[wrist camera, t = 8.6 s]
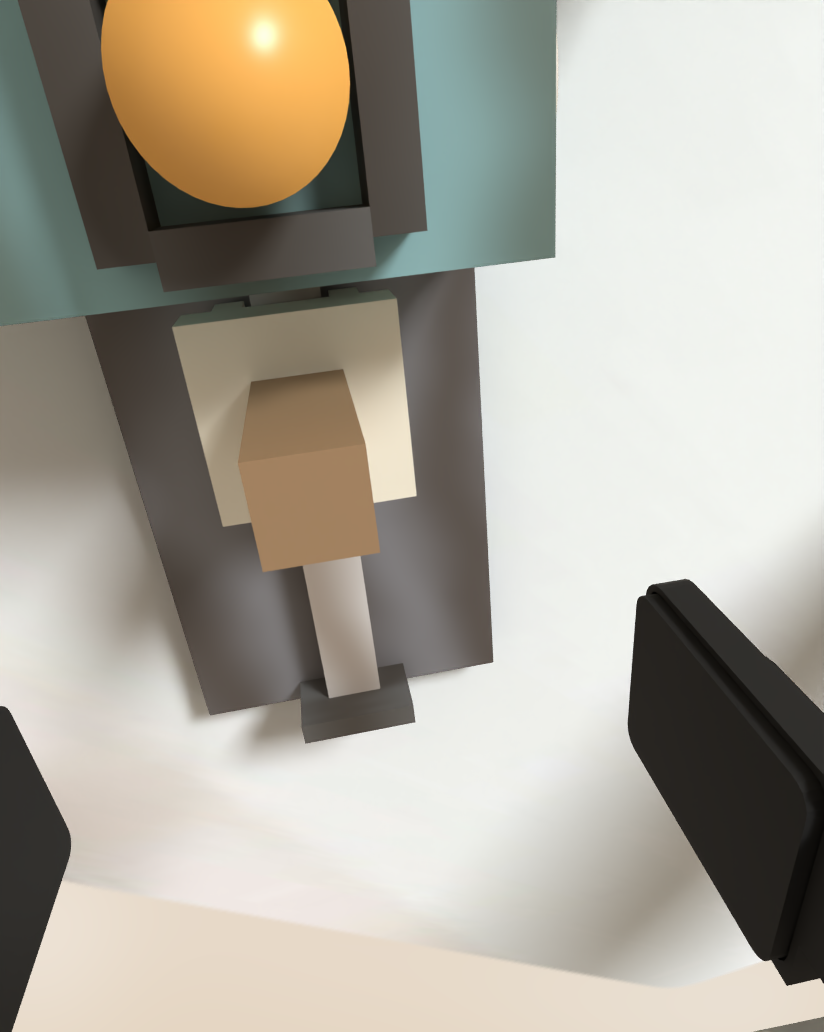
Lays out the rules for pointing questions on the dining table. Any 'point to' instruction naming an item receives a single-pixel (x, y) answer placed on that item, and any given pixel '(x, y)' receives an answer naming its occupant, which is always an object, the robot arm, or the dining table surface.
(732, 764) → the robot arm
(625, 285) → the dining table surface
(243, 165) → the orange rounded knob
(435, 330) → the rail board
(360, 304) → the carriage
